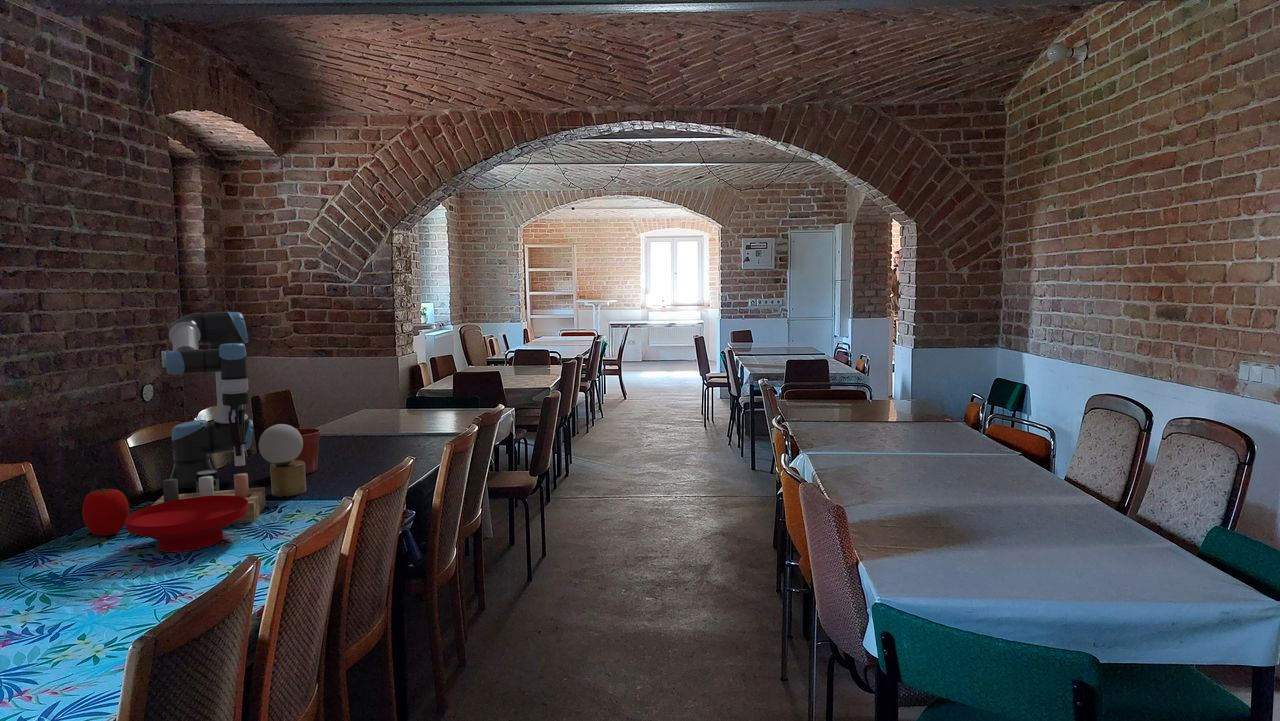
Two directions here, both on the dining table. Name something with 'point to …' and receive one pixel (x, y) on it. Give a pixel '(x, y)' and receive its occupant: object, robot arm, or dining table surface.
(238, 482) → the plug terracotta
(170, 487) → the plug black
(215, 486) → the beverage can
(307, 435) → the flower pot
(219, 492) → the plug board
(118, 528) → the tomato
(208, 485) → the plug grey
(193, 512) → the bowl
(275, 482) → the lamp
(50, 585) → the dining table surface
